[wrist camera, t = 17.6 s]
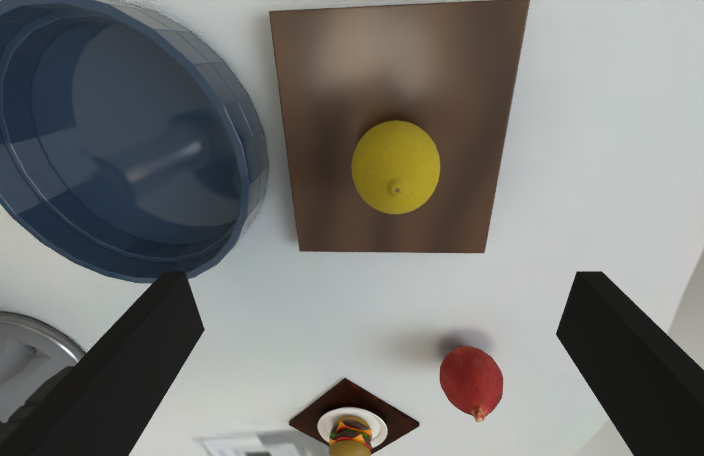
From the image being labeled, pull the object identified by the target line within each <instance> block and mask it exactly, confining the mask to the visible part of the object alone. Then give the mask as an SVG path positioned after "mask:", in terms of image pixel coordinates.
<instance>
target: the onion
mask: <svg viewBox="0 0 704 456" xmlns="http://www.w3.org/2000/svg"><path fill="white" fill-rule="evenodd" d="M440 384H441V387H442V389H443V391H444V393H445V394H446V396H447V398H448V400H449V401H450V402H451V403H452V404H453V405H454V406H455V407H457V408H458V409H460V410H461V411H463V412H464V413H467V414H470V415H472V416H474V418H475V420H476V422H481V421H484V418H485V417H486V416H487V415H488V414H489V413H491V412H492V411H493V410H494V409H495V407H496V406H497V404H498V403H499V402H500V400H501V398H502V394H503V376H502V373H501V370H500V369H499V367H498V365H497V364H496V362H495V361H494V360H493V358H492V357H491V356H489V355H488V354H486V353H485V352H483V351H482V350H480V349H477V348H474V347H470V346H459V347H458V348H455V349H454V350H452V351H451V352H449V353H448V354H447V355H446V357H445V358H444V360H443V362H442V364H441V366H440Z"/></svg>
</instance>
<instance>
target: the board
mask: <svg viewBox="0 0 704 456" xmlns="http://www.w3.org/2000/svg"><path fill="white" fill-rule="evenodd" d="M529 3H530V0H489V1H468V2H448V3H427V4H407V5H387V6H366V7H346V8H325V9H305V10H285V11H270V12H269V15H270V23H271V31H272V39H273V47H274V55H275V62H276V70H277V78H278V86H279V94H280V102H281V109H282V117H283V125H284V133H285V141H286V149H287V156H288V164H289V172H290V180H291V188H292V196H293V204H294V211H295V219H296V227H297V235H298V243H299V251H314V252H413V253H484V252H485V247H486V241H487V236H488V230H489V225H490V219H491V214H492V208H493V203H494V197H495V192H496V186H497V181H498V175H499V169H500V164H501V158H502V153H503V147H504V142H505V136H506V131H507V125H508V120H509V114H510V109H511V103H512V97H513V92H514V86H515V81H516V75H517V70H518V64H519V59H520V53H521V48H522V42H523V37H524V31H525V25H526V20H527V14H528V9H529ZM395 120H398V121H405V122H409V123H412V124H414V125H416V126H418V127H420V128H421V129H422V130H423V131H425V132H426V133H427V134H428V135H429V137H430V138H431V139H432V141H433V142H434V143H435V146H436V148H437V151H438V154H439V159H440V174H439V180H438V183H437V185H436V188H435V190H434V192H433V194H432V195H431V196H430V197H429V199H428V200H427V201H426V202H425V203H424V204H422V205H421V206H420V207H419V208H417V209H415V210H413V211H410V212H407V213H403V214H388V213H384V212H380V211H378V210H376V209H375V208H373V207H371V206H370V205H369V204H368V203H366V202H365V201H364V200H363V198H362V197H361V196H360V194H359V193H358V191H357V189H356V186H355V184H354V181H353V178H352V167H351V164H352V158H353V153H354V151H355V148H356V146H357V144H358V142H359V141H360V139H361V138H362V137H363V136H364V135H365V133H366V132H368V131H369V130H370V129H372V128H373V127H374V126H376V125H379V124H381V123H384V122H387V121H395Z"/></svg>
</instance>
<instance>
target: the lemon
mask: <svg viewBox="0 0 704 456" xmlns="http://www.w3.org/2000/svg"><path fill="white" fill-rule="evenodd" d="M351 167H352V178H353V181H354V184H355V186H356V189H357V191H358V193H359V194H360V196H361V197H362V198H363V200H364V201H365V202H366V203H368V204H369V205H370V206H371V207H373V208H375V209H376V210H378V211H380V212H384V213H388V214H403V213H407V212H410V211H413V210H415V209H417V208H419V207H420V206H421V205H422V204H424V203H425V202H426V201H427V200H428V199H429V197H430V196H431V195H432V194H433V192H434V190H435V188H436V185H437V183H438V180H439V174H440V159H439V154H438V151H437V148H436V146H435V143H434V142H433V141H432V139H431V138H430V137H429V135H428V134H427V133H426V132H425V131H423V130H422V129H421V128H420V127H418V126H416V125H414V124H412V123H409V122H405V121H398V120H395V121H387V122H384V123H381V124H379V125H376V126H374V127H373V128H372V129H370V130H369V131H368V132H366V133H365V135H364V136H363V137H362V138H361V139H360V141H359V142H358V144H357V146H356V148H355V151H354V153H353V158H352V164H351Z"/></svg>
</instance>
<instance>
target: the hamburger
mask: <svg viewBox="0 0 704 456" xmlns="http://www.w3.org/2000/svg"><path fill="white" fill-rule="evenodd" d="M289 425H290V426H292V427H294V428H296V429H297V430H299V431H301V432H303V433H305V434H307V435H309V436H311V437H313V438H315V439H316V440H318V441H320V442H322V443H324V444H326V445H328V446H329V447H330V448H329V454H330V456H371V454H373V453H375V452H377V451H378V450H380V449H382V448H383V447H385V446H387V445H388V444H390V443H392V442H393V441H395V440H397V439H398V438H400V437H402V436H404V435H405V434H407V433H409V432H410V431H412V430H414V429H415V428H417V427H419V422H417V421H416V420H414V419H412V418H411V417H409V416H407V415H406V414H404V413H402V412H401V411H399V410H397V409H396V408H394V407H392V406H391V405H389V404H387V403H386V402H384V401H382V400H381V399H379V398H377V397H376V396H374V395H372V394H371V393H369V392H367V391H366V390H364V389H362V388H361V387H359V386H357V385H356V384H354V383H352V382H351V381H349V380H347V379H346V378H345V379H344V380H342V381H341V382H340V383H339V384H337V385H336V386H335V387H333V388H332V389H331V390H330V391H328V392H327V393H326V394H324V395H323V396H322V397H321V398H319V399H318V400H317V401H315V402H314V403H313V404H311V405H310V406H309V407H308V408H306V409H305V410H304V411H302V412H301V413H300V414H299V415H297V416H296V417H295V418H293V419H292V420H291V421H290V422H289Z"/></svg>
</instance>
